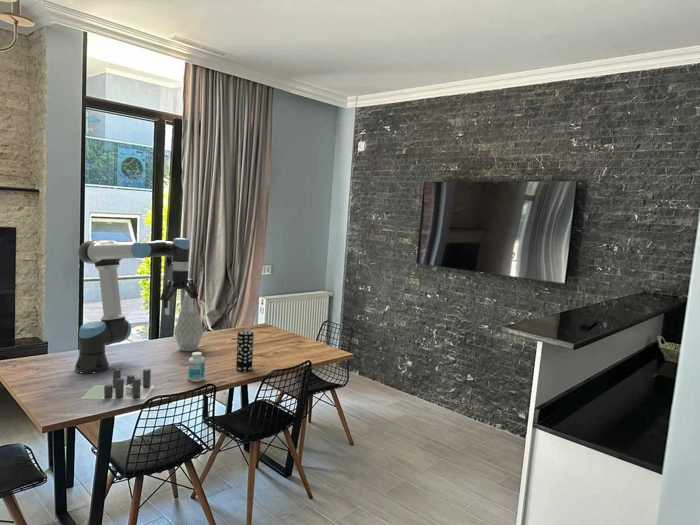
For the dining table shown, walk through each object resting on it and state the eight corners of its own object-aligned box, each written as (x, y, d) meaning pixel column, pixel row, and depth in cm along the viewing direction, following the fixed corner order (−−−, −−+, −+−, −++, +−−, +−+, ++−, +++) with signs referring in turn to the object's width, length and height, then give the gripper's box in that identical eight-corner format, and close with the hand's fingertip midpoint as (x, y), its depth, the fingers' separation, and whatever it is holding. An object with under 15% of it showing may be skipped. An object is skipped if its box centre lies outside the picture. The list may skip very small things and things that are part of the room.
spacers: (101, 398, 215) (102, 380, 214) (114, 385, 231) (114, 368, 230) (141, 398, 217) (142, 380, 216) (151, 385, 233) (151, 369, 232)
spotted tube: (236, 372, 262) (238, 334, 260) (235, 367, 270) (237, 331, 268) (252, 372, 264) (254, 334, 262) (251, 367, 272) (253, 330, 270)
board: (80, 401, 213) (80, 398, 213) (94, 387, 230) (94, 385, 230) (144, 401, 217) (144, 399, 217) (154, 387, 234) (154, 385, 233)
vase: (206, 346, 307) (207, 293, 304) (198, 353, 291) (200, 297, 287) (178, 344, 307) (179, 291, 303) (169, 352, 290) (171, 296, 287)
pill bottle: (198, 376, 253) (199, 350, 251) (207, 380, 248) (208, 353, 247) (185, 379, 247) (186, 352, 245) (193, 383, 242) (194, 356, 241)
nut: (125, 394, 221) (125, 387, 220) (129, 389, 227) (129, 383, 226) (137, 394, 221) (137, 387, 221) (141, 389, 227) (141, 383, 227)
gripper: (162, 272, 233) (161, 317, 235) (206, 269, 253) (204, 310, 256) (153, 270, 238) (151, 314, 240) (196, 267, 258) (195, 308, 260)
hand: (179, 312), depth 248 cm, fingers open, 13 cm apart
